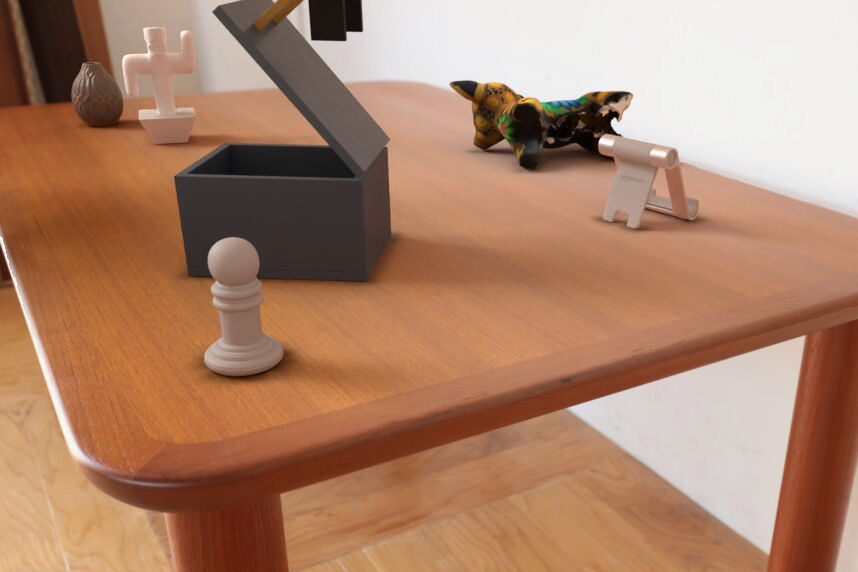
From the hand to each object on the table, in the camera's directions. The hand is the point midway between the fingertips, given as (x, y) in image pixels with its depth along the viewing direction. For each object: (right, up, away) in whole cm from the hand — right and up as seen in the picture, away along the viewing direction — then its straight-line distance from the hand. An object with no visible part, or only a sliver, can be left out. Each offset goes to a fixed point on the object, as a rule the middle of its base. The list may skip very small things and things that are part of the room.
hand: (338, 35), depth 74 cm
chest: (-6, -17, +8) cm, 20 cm away
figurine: (-33, +3, +51) cm, 61 cm away
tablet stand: (+28, -12, +21) cm, 37 cm away
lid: (-3, -4, +2) cm, 5 cm away
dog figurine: (+18, 0, +46) cm, 50 cm away
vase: (-47, +7, +60) cm, 76 cm away
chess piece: (-4, -27, -12) cm, 30 cm away
